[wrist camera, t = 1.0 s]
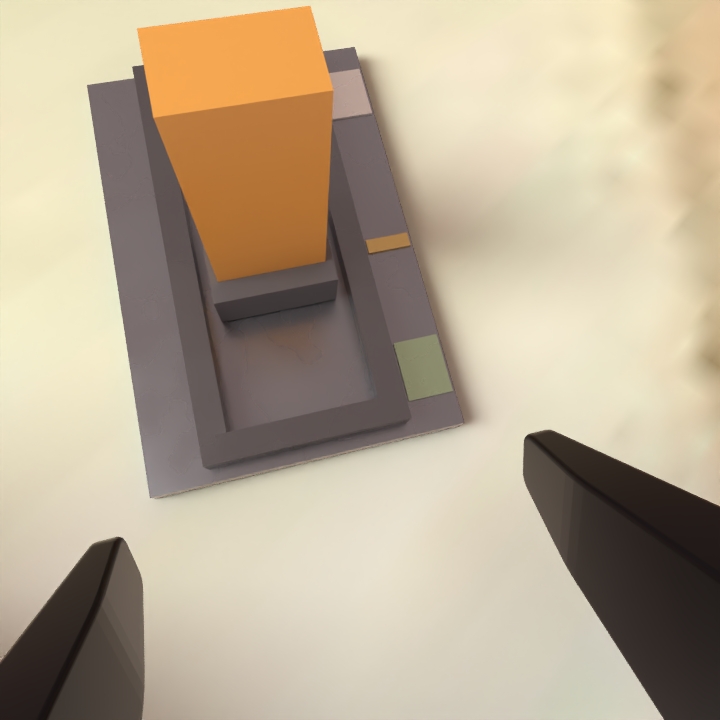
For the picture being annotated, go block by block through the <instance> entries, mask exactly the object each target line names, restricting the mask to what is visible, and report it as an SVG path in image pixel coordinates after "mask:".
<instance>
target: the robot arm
mask: <svg viewBox="0 0 720 720" xmlns="http://www.w3.org/2000/svg"><path fill="white" fill-rule="evenodd" d="M523 476H524V481H525V484H526V487H527V489H528V491H529V493H530V495H531V497H532V499H533V501H534V503H535V505H536V507H537V509H538V511H539V513H540V515H541V517H542V519H543V521H544V523H545V525H546V527H547V529H548V531H549V533H550V535H551V537H552V539H553V541H554V543H555V545H556V547H557V549H558V551H559V553H560V555H561V557H562V559H563V561H564V563H565V565H566V567H567V568H568V570H569V572H570V573H571V575H572V577H573V578H574V580H575V581H576V583H577V585H578V586H579V588H580V589H581V591H582V592H583V594H584V595H585V597H586V599H587V600H588V602H589V603H590V605H591V606H592V608H593V609H594V611H595V613H596V614H597V616H598V617H599V619H600V620H601V622H602V624H603V625H604V627H605V628H606V630H607V631H608V633H609V634H610V636H611V638H612V639H613V641H614V642H615V644H616V645H617V647H618V648H619V650H620V652H621V653H622V655H623V656H624V658H625V659H626V661H627V663H628V664H629V666H630V667H631V669H632V670H633V672H634V673H635V675H636V677H637V678H638V680H639V681H640V683H641V684H642V686H643V687H644V689H645V691H646V692H647V694H648V695H649V697H650V698H651V700H652V701H653V703H654V705H655V706H656V708H657V709H658V711H659V712H660V714H661V716H662V717H663V719H664V720H720V506H718V505H716V504H714V503H711V502H709V501H707V500H705V499H703V498H700V497H698V496H696V495H694V494H691V493H689V492H687V491H685V490H683V489H680V488H678V487H676V486H674V485H672V484H669V483H667V482H665V481H663V480H661V479H658V478H656V477H654V476H652V475H650V474H647V473H645V472H643V471H641V470H639V469H636V468H634V467H632V466H630V465H628V464H625V463H623V462H621V461H619V460H617V459H614V458H612V457H610V456H608V455H606V454H603V453H601V452H599V451H597V450H595V449H592V448H590V447H588V446H586V445H584V444H581V443H579V442H577V441H575V440H573V439H570V438H568V437H566V436H564V435H562V434H559V433H557V432H555V431H552V430H543V431H539V432H535V433H531V434H528V435H527V436H526V437H525V440H524V456H523ZM143 701H144V615H143V583H142V578H141V574H140V572H139V569H138V567H137V565H136V563H135V560H134V558H133V556H132V554H131V552H130V550H129V547H128V545H127V543H126V541H125V540H124V539H123V538H121V537H115V538H111V539H107V540H103V541H99V542H96V543H94V544H93V545H91V546H90V547H89V549H88V550H87V551H86V553H85V554H84V555H83V556H82V558H81V559H80V560H79V561H78V563H77V564H76V565H75V567H74V568H73V569H72V570H71V572H70V573H69V574H68V576H67V577H66V578H65V579H64V581H63V582H62V583H61V585H60V586H59V587H58V588H57V590H56V591H55V592H54V594H53V595H52V596H51V597H50V599H49V600H48V601H47V603H46V604H45V605H44V606H43V608H42V609H41V610H40V612H39V613H38V614H37V615H36V617H35V618H34V619H33V621H32V622H31V623H30V624H29V626H28V627H27V628H26V630H25V631H24V632H23V633H22V635H21V636H20V637H19V639H18V640H17V641H16V642H15V644H14V645H13V646H12V648H11V649H10V650H9V651H8V653H7V654H6V655H5V657H4V658H3V659H2V660H1V662H0V720H142V712H143Z"/></svg>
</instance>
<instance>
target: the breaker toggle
mask: <svg viewBox="0 0 720 720" xmlns="http://www.w3.org/2000/svg"><path fill="white" fill-rule="evenodd" d="M137 31H138V36H139V42H140V47H141V53H142V58H143V63H144V69H145V74H146V80H147V85H148V91H149V96H150V102H151V107H152V113H153V118H154V121H155V123H156V126H157V128H158V131H159V133H160V136H161V138H162V141H163V143H164V146H165V149H166V151H167V154H168V156H169V159H170V161H171V164H172V166H173V169H174V171H175V174H176V177H177V179H178V182H179V184H180V187H181V189H182V192H183V194H184V197H185V199H186V202H187V205H188V207H189V210H190V212H191V215H192V217H193V220H194V222H195V225H196V227H197V230H198V233H199V235H200V238H201V241H202V247H203V252H204V257H205V262H206V267H207V272H208V277H209V283H210V288H211V293H212V298H213V303H214V306H215V308H216V310H217V312H218V315H219V317H220V319H221V321H222V322H226V321H231V320H236V319H241V318H246V317H251V316H255V315H260V314H265V313H270V312H275V311H280V310H285V309H290V308H295V307H300V306H305V305H310V304H315V303H320V302H325V301H330V300H335V299H336V295H337V286H338V277H337V273H336V269H335V265H334V261H333V257H332V253H331V249H330V245H329V241H328V237H327V217H328V196H329V175H330V154H331V133H332V112H333V91H334V90H333V87H332V83H331V79H330V76H329V72H328V68H327V65H326V61H325V58H324V54H323V50H322V47H321V43H320V39H319V36H318V32H317V28H316V25H315V21H314V18H313V14H312V10H311V7H310V6H306V7H298V8H291V9H283V10H275V11H268V12H260V13H253V14H245V15H237V16H230V17H222V18H214V19H207V20H199V21H192V22H184V23H176V24H169V25H161V26H153V27H146V28H138V29H137Z"/></svg>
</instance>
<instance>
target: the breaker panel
mask: <svg viewBox="0 0 720 720" xmlns="http://www.w3.org/2000/svg"><path fill="white" fill-rule="evenodd" d="M323 54H324V58H325V61H326V65H327V68H328V72H329V76H330V79H331V83H332V87H333V90H334V91H333V112H332V133H331V154H330V175H329V196H328V217H327V237H328V241H329V245H330V249H331V253H332V257H333V261H334V265H335V269H336V273H337V277H338V286H337V295H336V299H335V300H330V301H325V302H320V303H315V304H310V305H305V306H300V307H295V308H290V309H285V310H280V311H275V312H270V313H265V314H260V315H255V316H251V317H246V318H241V319H236V320H231V321H226V322H222V321H221V319H220V317H219V315H218V312H217V310H216V308H215V306H214V303H213V298H212V293H211V288H210V283H209V277H208V272H207V267H206V262H205V257H204V252H203V247H202V241H201V238H200V235H199V233H198V230H197V227H196V225H195V222H194V220H193V217H192V215H191V212H190V210H189V207H188V205H187V202H186V199H185V197H184V194H183V192H182V189H181V187H180V184H179V182H178V179H177V177H176V174H175V171H174V169H173V166H172V164H171V161H170V159H169V156H168V154H167V151H166V149H165V146H164V143H163V141H162V138H161V136H160V133H159V131H158V128H157V126H156V123H155V121H154V118H153V113H152V107H151V102H150V96H149V91H148V85H147V80H146V74H145V69H144V65H141V66H134V67H132V68H133V74H134V79H127V80H120V81H113V82H106V83H99V84H92V85H87V88H88V94H89V101H90V107H91V114H92V120H93V127H94V134H95V140H96V147H97V153H98V160H99V166H100V173H101V179H102V186H103V193H104V199H105V206H106V212H107V219H108V225H109V232H110V239H111V245H112V252H113V258H114V265H115V271H116V278H117V284H118V291H119V298H120V304H121V311H122V317H123V324H124V330H125V337H126V344H127V350H128V357H129V363H130V370H131V376H132V383H133V389H134V396H135V403H136V409H137V416H138V422H139V429H140V435H141V442H142V449H143V455H144V462H145V468H146V475H147V481H148V488H149V494H150V498H154V499H157V498H161V497H165V496H169V495H174V494H178V493H182V492H186V491H190V490H195V489H199V488H203V487H207V486H211V485H215V484H220V483H224V482H228V481H232V480H236V479H241V478H245V477H249V476H253V475H257V474H261V473H266V472H270V471H274V470H278V469H282V468H287V467H291V466H295V465H299V464H303V463H307V462H312V461H316V460H320V459H324V458H328V457H333V456H337V455H341V454H345V453H349V452H353V451H358V450H362V449H366V448H370V447H374V446H379V445H383V444H387V443H391V442H395V441H399V440H404V439H408V438H412V437H416V436H420V435H425V434H429V433H433V432H437V431H441V430H445V429H450V428H454V427H458V426H460V425H462V424H463V423H464V420H463V417H462V413H461V410H460V407H459V403H458V400H457V396H456V393H455V389H454V386H453V383H452V379H451V376H450V372H449V369H448V365H447V362H446V359H445V355H444V352H443V348H442V345H441V341H440V338H439V335H438V331H437V328H436V324H435V321H434V317H433V314H432V311H431V307H430V304H429V300H428V297H427V293H426V290H425V287H424V283H423V280H422V276H421V273H420V269H419V266H418V263H417V259H416V256H415V252H414V249H413V246H412V242H411V239H410V235H409V232H408V228H407V225H406V222H405V218H404V215H403V211H402V208H401V204H400V201H399V198H398V194H397V191H396V187H395V184H394V180H393V177H392V174H391V170H390V167H389V163H388V160H387V156H386V153H385V150H384V146H383V143H382V139H381V136H380V132H379V129H378V126H377V122H376V119H375V115H374V112H373V108H372V105H371V102H370V98H369V95H368V91H367V88H366V84H365V81H364V78H363V74H362V71H361V67H360V64H359V60H358V57H357V54H356V50H355V47H351V48H344V49H337V50H330V51H323Z"/></svg>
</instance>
